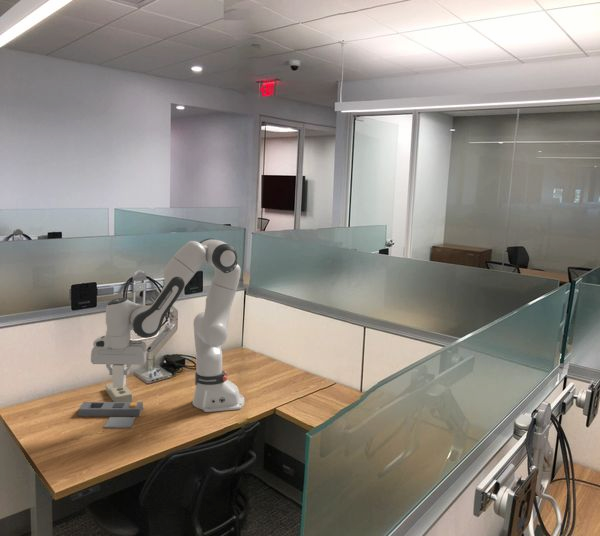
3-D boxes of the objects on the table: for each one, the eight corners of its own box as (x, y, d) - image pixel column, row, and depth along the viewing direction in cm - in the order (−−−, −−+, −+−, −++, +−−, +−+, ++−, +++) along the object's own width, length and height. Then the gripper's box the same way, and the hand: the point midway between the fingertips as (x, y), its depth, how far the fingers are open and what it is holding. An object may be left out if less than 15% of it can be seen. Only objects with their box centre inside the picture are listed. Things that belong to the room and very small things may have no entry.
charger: (125, 383, 202) (125, 358, 201) (123, 387, 198) (122, 361, 197) (115, 383, 202) (114, 358, 200) (112, 387, 198) (112, 361, 196)
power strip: (142, 408, 216) (142, 400, 216) (139, 416, 209) (139, 407, 209) (84, 408, 214) (83, 400, 214) (78, 416, 207) (78, 407, 207)
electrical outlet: (121, 379, 237) (132, 393, 222) (121, 387, 237) (132, 402, 223) (105, 382, 233) (115, 396, 218) (105, 390, 234) (115, 405, 219)
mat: (135, 418, 207) (135, 417, 207) (130, 428, 199) (130, 426, 199) (110, 418, 206) (110, 417, 206) (104, 428, 199) (104, 426, 198)
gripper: (147, 338, 201) (148, 371, 204) (94, 337, 199) (95, 371, 202) (144, 343, 195) (144, 377, 197) (88, 342, 193) (89, 377, 196)
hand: (119, 374), depth 200 cm, fingers closed on charger, 4 cm apart
